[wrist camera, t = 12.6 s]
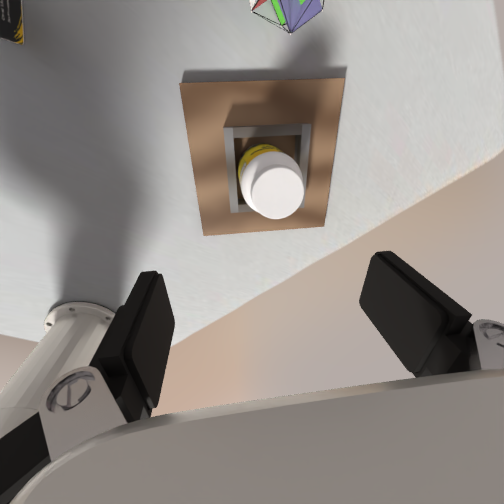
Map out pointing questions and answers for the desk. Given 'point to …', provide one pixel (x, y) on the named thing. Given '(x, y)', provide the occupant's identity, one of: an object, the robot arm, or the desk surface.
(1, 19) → the medicine bottle
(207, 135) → the carrier plate
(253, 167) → the pill bottle
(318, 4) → the geometric puzzle
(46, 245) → the desk surface
